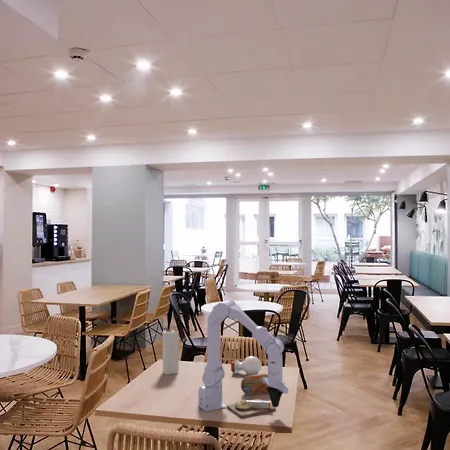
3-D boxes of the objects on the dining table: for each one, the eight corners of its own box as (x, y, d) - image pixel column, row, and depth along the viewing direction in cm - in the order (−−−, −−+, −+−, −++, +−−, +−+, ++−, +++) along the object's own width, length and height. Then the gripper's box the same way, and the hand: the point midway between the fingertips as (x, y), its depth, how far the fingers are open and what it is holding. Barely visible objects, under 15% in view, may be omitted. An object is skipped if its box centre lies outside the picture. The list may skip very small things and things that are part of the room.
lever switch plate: (241, 418, 181) (241, 415, 181) (226, 407, 192) (226, 405, 192) (275, 410, 189) (275, 407, 189) (259, 400, 200) (259, 398, 200)
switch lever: (234, 409, 187) (234, 403, 187) (235, 403, 194) (235, 397, 194) (270, 411, 185) (270, 405, 185) (270, 404, 192) (270, 398, 192)
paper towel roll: (160, 374, 236) (160, 331, 236) (165, 370, 242) (165, 329, 242) (173, 375, 234) (173, 332, 234) (178, 372, 239) (178, 330, 240)
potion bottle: (262, 379, 232) (233, 380, 236) (264, 363, 240) (235, 364, 244) (258, 367, 227) (228, 368, 231) (260, 351, 235) (231, 352, 239)
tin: (242, 396, 205) (242, 377, 205) (240, 394, 208) (240, 375, 208) (274, 393, 209) (274, 374, 209) (271, 390, 212) (271, 372, 212)
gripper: (294, 375, 179) (294, 410, 179) (272, 365, 192) (273, 398, 192) (279, 377, 176) (279, 414, 176) (258, 367, 188) (258, 401, 188)
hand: (275, 406), depth 183 cm, fingers closed
